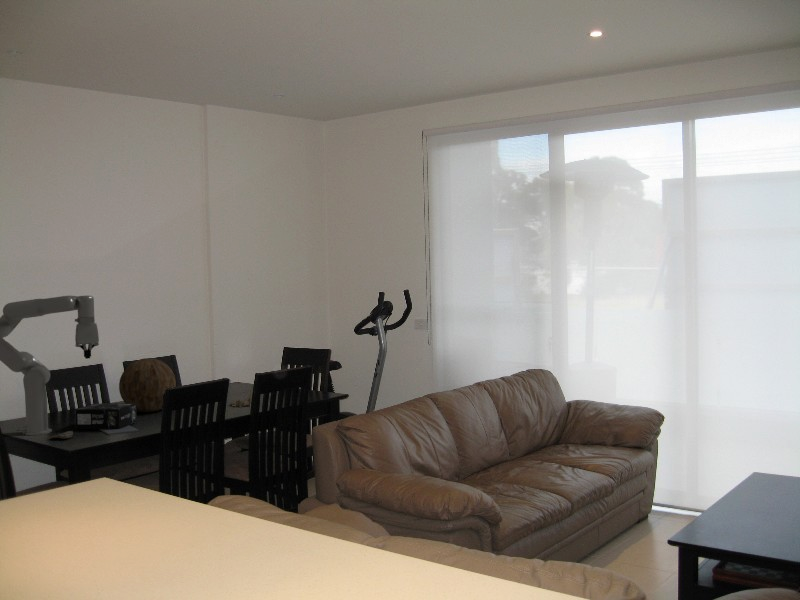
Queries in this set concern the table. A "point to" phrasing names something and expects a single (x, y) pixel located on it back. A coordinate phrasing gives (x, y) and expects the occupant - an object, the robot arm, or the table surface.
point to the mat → (119, 430)
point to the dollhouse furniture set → (240, 403)
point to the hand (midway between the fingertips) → (87, 358)
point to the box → (105, 416)
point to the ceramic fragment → (63, 435)
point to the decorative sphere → (146, 384)
